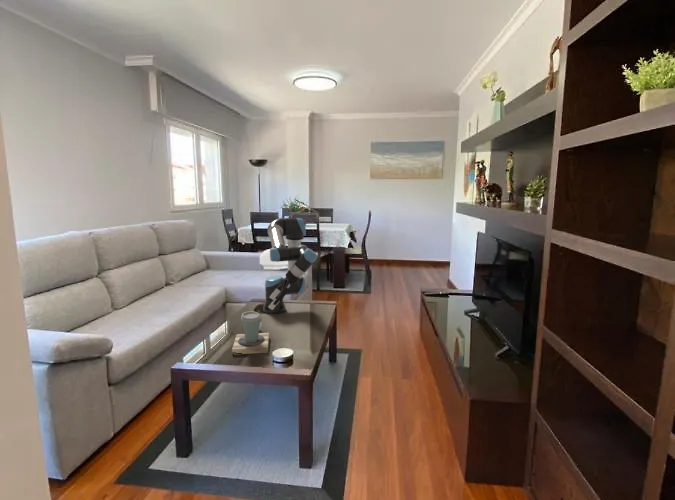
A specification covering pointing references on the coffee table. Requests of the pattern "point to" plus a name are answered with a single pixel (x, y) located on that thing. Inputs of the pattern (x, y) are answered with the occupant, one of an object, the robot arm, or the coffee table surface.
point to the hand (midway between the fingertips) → (270, 303)
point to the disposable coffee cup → (251, 325)
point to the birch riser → (251, 344)
